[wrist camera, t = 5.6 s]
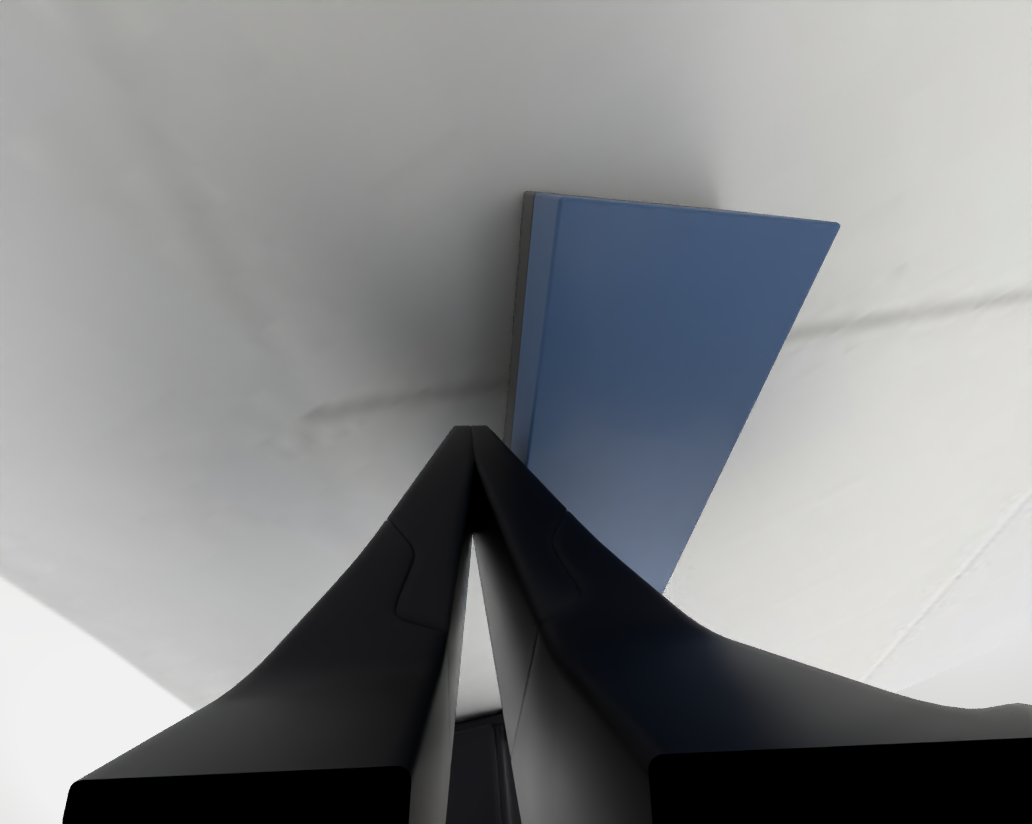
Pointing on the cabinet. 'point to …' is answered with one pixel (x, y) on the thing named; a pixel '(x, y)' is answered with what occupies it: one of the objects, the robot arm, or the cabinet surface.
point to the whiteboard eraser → (646, 355)
